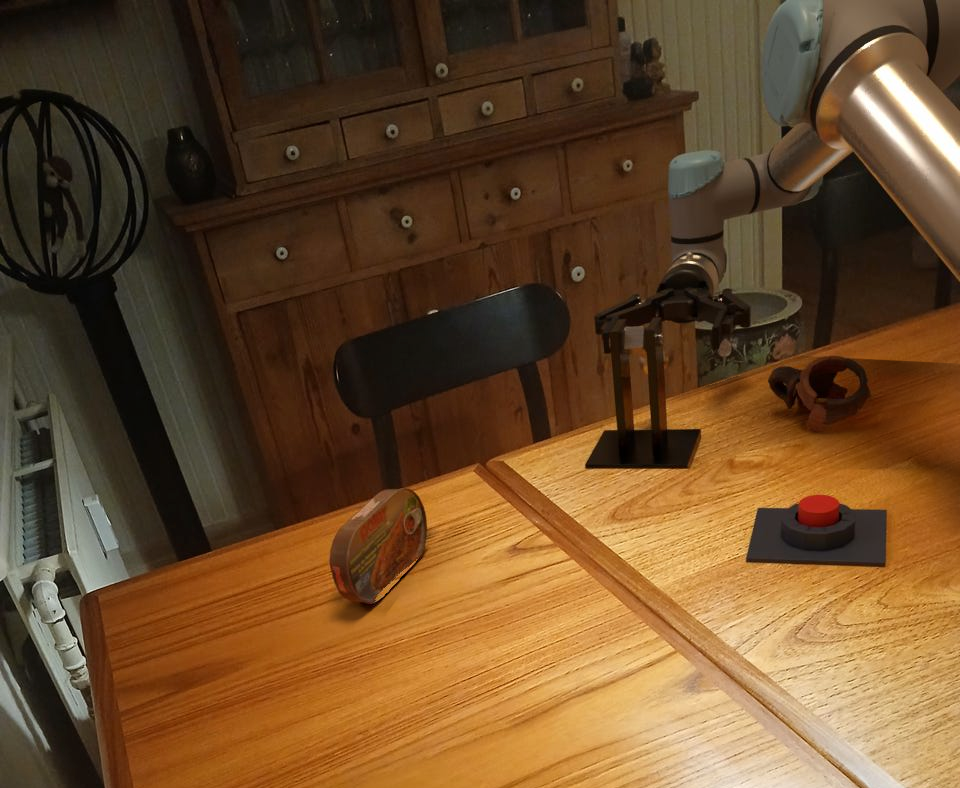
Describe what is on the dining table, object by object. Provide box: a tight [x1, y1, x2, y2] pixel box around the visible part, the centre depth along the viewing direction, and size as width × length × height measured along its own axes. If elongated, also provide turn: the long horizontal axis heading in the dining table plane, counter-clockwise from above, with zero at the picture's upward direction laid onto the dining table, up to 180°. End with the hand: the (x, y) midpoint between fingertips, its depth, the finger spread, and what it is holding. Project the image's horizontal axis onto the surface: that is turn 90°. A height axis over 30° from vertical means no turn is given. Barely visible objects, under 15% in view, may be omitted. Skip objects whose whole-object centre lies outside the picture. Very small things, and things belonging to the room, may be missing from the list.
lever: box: [624, 325, 669, 376], centre depth 115 cm, size 13×4×4 cm
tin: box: [329, 487, 428, 605], centre depth 100 cm, size 15×3×8 cm, turn 154°
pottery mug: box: [767, 355, 872, 432], centre depth 118 cm, size 12×10×8 cm
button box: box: [745, 502, 888, 568], centre depth 93 cm, size 12×10×4 cm
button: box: [798, 494, 841, 527], centre depth 91 cm, size 4×4×2 cm
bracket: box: [584, 316, 702, 470], centre depth 114 cm, size 10×12×16 cm
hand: (659, 341), depth 122 cm, fingers open, 13 cm apart
